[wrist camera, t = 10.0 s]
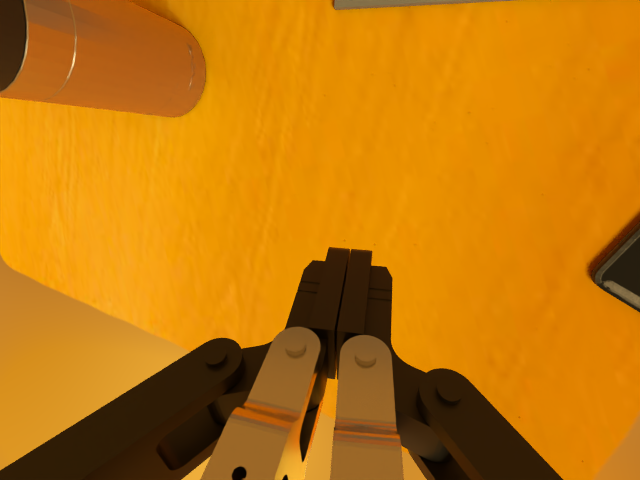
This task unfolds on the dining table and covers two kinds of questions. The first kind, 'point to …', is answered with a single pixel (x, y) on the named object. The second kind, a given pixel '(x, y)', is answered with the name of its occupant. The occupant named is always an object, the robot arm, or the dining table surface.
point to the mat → (396, 3)
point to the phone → (622, 270)
